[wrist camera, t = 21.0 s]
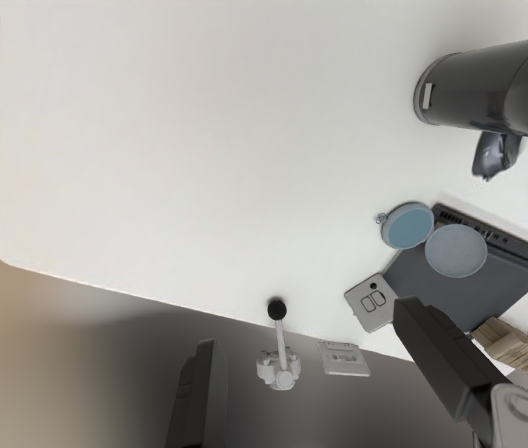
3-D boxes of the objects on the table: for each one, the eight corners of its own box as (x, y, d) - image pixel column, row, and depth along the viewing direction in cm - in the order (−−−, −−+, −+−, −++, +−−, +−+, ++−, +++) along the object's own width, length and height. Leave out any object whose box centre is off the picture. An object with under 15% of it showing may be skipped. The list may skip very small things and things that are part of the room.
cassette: (358, 344, 64) (372, 373, 57) (355, 348, 65) (369, 377, 58) (317, 340, 62) (327, 370, 55) (315, 345, 63) (324, 375, 56)
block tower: (538, 341, 73) (490, 313, 63) (573, 368, 66) (524, 342, 55) (515, 356, 76) (465, 331, 65) (546, 384, 68) (495, 361, 58)
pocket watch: (461, 290, 42) (392, 271, 38) (419, 254, 51) (361, 236, 48) (505, 244, 38) (432, 217, 34) (450, 214, 47) (389, 191, 44)
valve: (286, 294, 66) (300, 298, 52) (296, 372, 62) (315, 401, 47) (249, 298, 65) (253, 304, 50) (257, 379, 60) (264, 411, 46)
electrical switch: (378, 271, 52) (405, 305, 45) (387, 282, 55) (414, 317, 47) (342, 293, 55) (362, 330, 47) (352, 303, 57) (372, 339, 50)
